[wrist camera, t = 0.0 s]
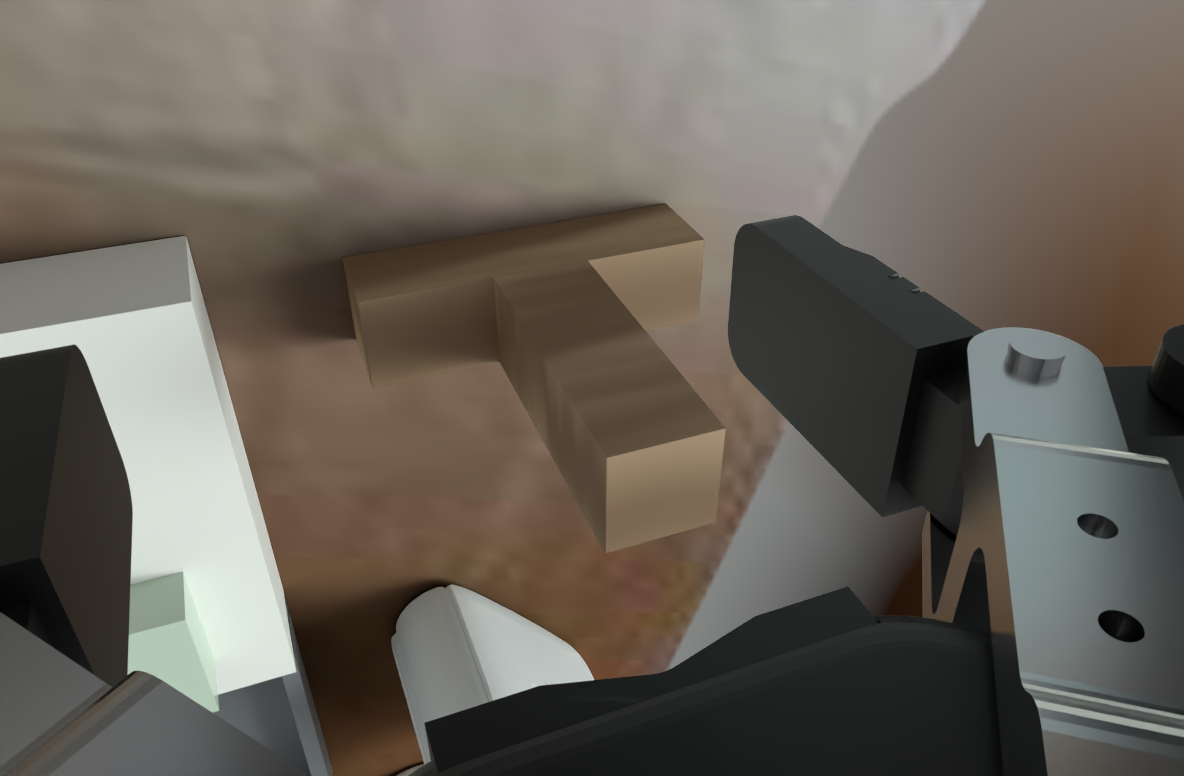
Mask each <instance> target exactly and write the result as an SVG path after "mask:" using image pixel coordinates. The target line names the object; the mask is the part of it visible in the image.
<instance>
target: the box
mask: <svg viewBox="0 0 1184 776" xmlns="http://www.w3.org/2000/svg"><path fill="white" fill-rule="evenodd" d="M284 598H285V596H284ZM285 604H286V610H287V616H288V623H289V629H290V635H291V641H292V648H293V654H294V660H295V667H296V672H294V673H291V674H288V675H284V676H281V677H277V678H274V679H270V680H267V681H264V682H260V683H257V684H253V685H250V686H246V687H243V688H239V689H236V690H233V691H229V692H226V693H222V694H219V695H218V702H219V711H216V712H213V713H214V714H215V715H217V716H219V717H220V718H222V719H223V720H225V721H226V722H228V723H229V724H231V725H233V726H234V727H236V728H237V729H239V730H240V731H242V732H243V733H245V734H247V735H248V736H250V737H251V738H253V739H254V740H256V741H257V742H259V743H261V744H262V745H264V746H265V747H267V748H268V749H270V750H271V751H273V752H275V753H276V754H278V755H279V756H281V757H282V758H284V759H285V760H287V761H289V762H290V763H292V764H293V765H295V766H296V767H298V768H299V769H301V770H303V771H304V772H306V773H307V774H309V775H310V776H333V770H332V766H331V762H330V758H329V755H328V751H327V747H326V744H325V740H324V736H323V733H322V729H321V726H320V722H319V718H318V715H317V711H316V707H315V704H314V700H313V696H312V693H311V689H310V685H309V682H308V678H307V675H306V671H305V667H304V664H303V660H302V656H301V653H300V649H299V645H298V642H297V638H296V635H295V631H294V627H293V624H292V620H291V616H290V613H289V609H288V605H287V602H286V598H285Z"/></svg>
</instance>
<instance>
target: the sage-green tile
mask: <svg viewBox="0 0 1184 776" xmlns="http://www.w3.org/2000/svg"><path fill="white" fill-rule="evenodd" d="M133 671H143V672H147V673H149V674H151V675H154V676H156V677H157V678H159V679H161V680H162V681H164V682H166V683H167V684H169V685H170V686H172V687H173V688H175V689H177V690H178V691H180V692H181V693H183V694H184V695H186V696H187V697H189V698H191V699H192V700H194V701H195V702H197V703H198V704H200V705H201V706H203V707H205V708H206V709H208V710H209V711H211V712H212V713H213V712H216V711H219V702H218V689H217V676H216V662H215V659H214V656H213V653H212V651H211V648H210V645H209V642H208V639H207V637H206V634H205V631H204V628H203V625H202V623H201V620H200V617H199V614H198V612H197V609H196V606H195V603H194V600H193V598H192V595H191V592H190V589H189V586H188V584H187V581H186V578H185V575H184V572H180V573H176V574H172V575H168V576H164V577H160V578H156V579H152V580H148V581H144V582H140V583H136V584H132V585H130V614H129V645H128V674H129V673H131V672H133Z"/></svg>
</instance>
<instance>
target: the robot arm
mask: <svg viewBox="0 0 1184 776" xmlns="http://www.w3.org/2000/svg"><path fill="white" fill-rule="evenodd" d="M728 338H729V345H730V349H731V353H732V356H733V358H734V361H735V363H736V365H737V367H738V368H739V370H740V371H741V372H742V374H743V375H744V376H745V377H746V378H747V379H748V380H749V381H750V382H751V383H752V384H753V385H754V386H755V387H756V388H757V389H758V390H759V391H760V392H761V393H762V394H763V395H764V396H765V397H766V398H767V399H768V400H769V401H770V403H771V404H772V405H773V406H774V407H775V408H776V409H777V410H778V411H779V412H780V413H781V414H782V415H783V416H784V417H785V418H786V419H787V420H788V421H789V422H790V423H791V424H792V425H793V426H794V427H795V428H796V429H797V430H798V431H799V432H800V433H801V434H802V435H803V436H804V437H805V438H806V439H807V441H809V443H810V444H812V445H813V447H814V448H815V449H816V450H817V451H818V452H819V453H820V454H821V455H822V456H823V457H824V458H825V459H826V460H827V461H828V462H829V463H830V464H831V465H832V466H833V467H834V468H835V469H836V470H837V471H838V472H839V473H840V474H841V475H842V476H843V477H844V479H845V480H847V482H849V484H850V485H851V486H852V487H853V488H854V489H855V490H856V491H857V492H858V493H859V494H860V495H861V496H862V497H863V498H864V499H865V500H866V501H867V502H868V503H869V504H870V505H871V506H872V507H873V508H874V509H875V510H876V511H877V512H878V513H879V514H880V515H881V516H882V517H886V516H889V515H892V514H896V513H899V512H902V511H905V510H909V509H912V508H915V507H919V506H923V507H925V508H926V509H927V510H928V513H927V517H926V521H925V525H924V529H923V536H922V538H923V539H922V541H923V542H922V548H923V549H922V551H923V618H921V617H912V616H873V615H872V614H871V613H870V612H869V611H868V610H867V609H866V607H865V606H864V605H863V604H862V603H861V601H860V600H859V599H858V598H857V597H856V595H855V594H854V593H853V592H852V591H851V590H850V588H849V587H845V588H842V589H839V590H836V591H833V592H830V593H826V594H823V595H821V596H817V597H814V598H811V599H808V600H805V601H802V602H798V603H795V604H792V605H789V606H786V607H783V608H780V609H777V610H774V611H771V612H768V613H764V614H761V615H758V616H755V617H753V618H752V619H750V620H749V621H747V622H745V623H744V624H742V625H741V626H739V627H737V628H736V629H734V630H733V631H731V632H729V633H728V634H726V635H725V636H723V637H722V638H720V639H718V640H717V641H715V642H714V643H712V644H710V645H709V646H707V647H706V648H704V649H703V650H701V651H699V652H698V653H696V654H695V655H693V656H691V657H690V658H688V659H687V660H685V661H684V662H682V663H680V664H679V665H677V666H675V667H674V668H672V669H670V670H668V671H665V672H662V673H658V674H652V675H642V676H632V677H622V678H612V679H602V680H591V681H581V682H571V683H561V684H551V685H541V686H537V687H534V688H531V689H528V690H525V691H522V692H518V693H515V694H512V695H509V696H506V697H503V698H500V699H497V700H494V701H490V702H487V703H484V704H481V705H478V706H475V707H472V708H469V709H466V710H462V711H459V712H456V713H453V714H450V715H447V716H444V717H441V718H438V719H434V720H431V721H428V722H425V723H424V725H425V730H426V736H427V741H428V747H429V752H430V758H431V761H430V762H428V763H426V764H425V765H423V766H422V767H420V768H418V769H417V770H415V771H414V772H412V773H410V774H409V775H408V776H1184V325H1179V326H1176V327H1174V328H1172V329H1170V330H1169V331H1167V332H1166V333H1165V335H1164V336H1163V339H1162V341H1161V344H1160V347H1159V350H1158V352H1157V355H1156V357H1155V360H1154V363H1153V366H1129V367H1128V366H1127V367H1126V366H1124V367H1103V366H1102V364H1101V362H1100V361H1099V360H1098V358H1097V357H1096V356H1095V355H1094V354H1093V353H1092V352H1090V351H1089V350H1087V349H1086V348H1085V347H1083V346H1082V345H1080V344H1078V343H1076V342H1074V341H1072V340H1070V339H1067V338H1065V337H1062V336H1059V335H1056V334H1053V333H1050V332H1045V331H1041V330H1035V329H1028V328H1017V327H1016V328H1015V327H1013V328H1011V327H1009V328H1008V327H1006V328H996V329H992V330H987V331H985V332H984V331H982V330H981V329H979V328H978V327H977V326H975V325H974V324H972V323H971V322H969V321H968V320H966V319H965V318H963V317H962V316H960V315H959V314H957V313H956V312H954V311H953V310H951V309H950V308H948V307H947V306H945V305H944V304H942V303H941V302H940V301H938V300H937V299H935V298H934V297H932V296H931V295H929V294H928V293H926V292H920V291H919V287H917V286H916V285H914V284H913V283H911V282H910V281H908V280H907V279H906V278H904V277H902V278H899V276H898V273H897V272H895V271H894V270H892V269H891V268H889V267H888V266H886V265H885V264H883V263H882V262H880V261H879V260H877V259H876V258H875V257H873V256H871V255H868V254H865V253H862V252H859V251H857V250H854V249H851V248H848V247H845V246H843V245H841V244H840V243H838V242H837V241H835V240H834V239H833V238H831V237H830V236H828V235H827V234H825V233H824V232H822V231H821V230H820V229H818V228H817V227H815V226H814V225H812V224H811V223H809V222H808V221H806V220H805V219H804V218H802V217H800V216H796V215H794V216H788V217H783V218H777V219H772V220H766V221H761V222H755V223H749V224H745V225H743V226H742V227H741V228H740V229H739V231H738V233H737V235H736V239H735V244H734V256H733V269H732V282H731V295H730V309H729V322H728ZM132 520H133V508H132V498H131V492H130V486H129V482H128V477H127V473H126V469H125V466H124V463H123V460H122V457H121V454H120V451H119V449H118V446H117V443H116V440H115V438H114V435H113V432H112V430H111V427H110V424H109V422H108V419H107V416H106V413H105V411H104V408H103V405H102V403H101V400H100V397H99V394H98V392H97V389H96V386H95V384H94V381H93V378H92V375H91V373H90V370H89V367H88V365H87V362H86V360H85V358H84V356H83V354H82V352H81V350H80V349H79V348H78V347H77V346H76V345H69V346H63V347H58V348H52V349H47V350H41V351H35V352H30V353H24V354H19V355H13V356H8V357H2V358H0V776H310V775H309V774H307V773H306V772H304V771H303V770H301V769H299V768H298V767H296V766H295V765H293V764H292V763H290V762H289V761H287V760H285V759H284V758H282V757H281V756H279V755H278V754H276V753H275V752H273V751H271V750H270V749H268V748H267V747H265V746H264V745H262V744H261V743H259V742H257V741H256V740H254V739H253V738H251V737H250V736H248V735H247V734H245V733H243V732H242V731H240V730H239V729H237V728H236V727H234V726H233V725H231V724H229V723H228V722H226V721H225V720H223V719H222V718H220V717H219V716H217V715H215V714H214V713H212V712H211V711H209V710H208V709H206V708H205V707H203V706H201V705H200V704H198V703H197V702H195V701H194V700H192V699H191V698H189V697H187V696H186V695H184V694H183V693H181V692H180V691H178V690H177V689H175V688H173V687H172V686H170V685H169V684H167V683H166V682H164V681H162V680H161V679H159V678H157V677H156V676H154V675H151V674H149V673H147V672H143V671H133V672H131V673H129V674H128V645H129V614H130V582H131V551H132Z"/></svg>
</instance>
